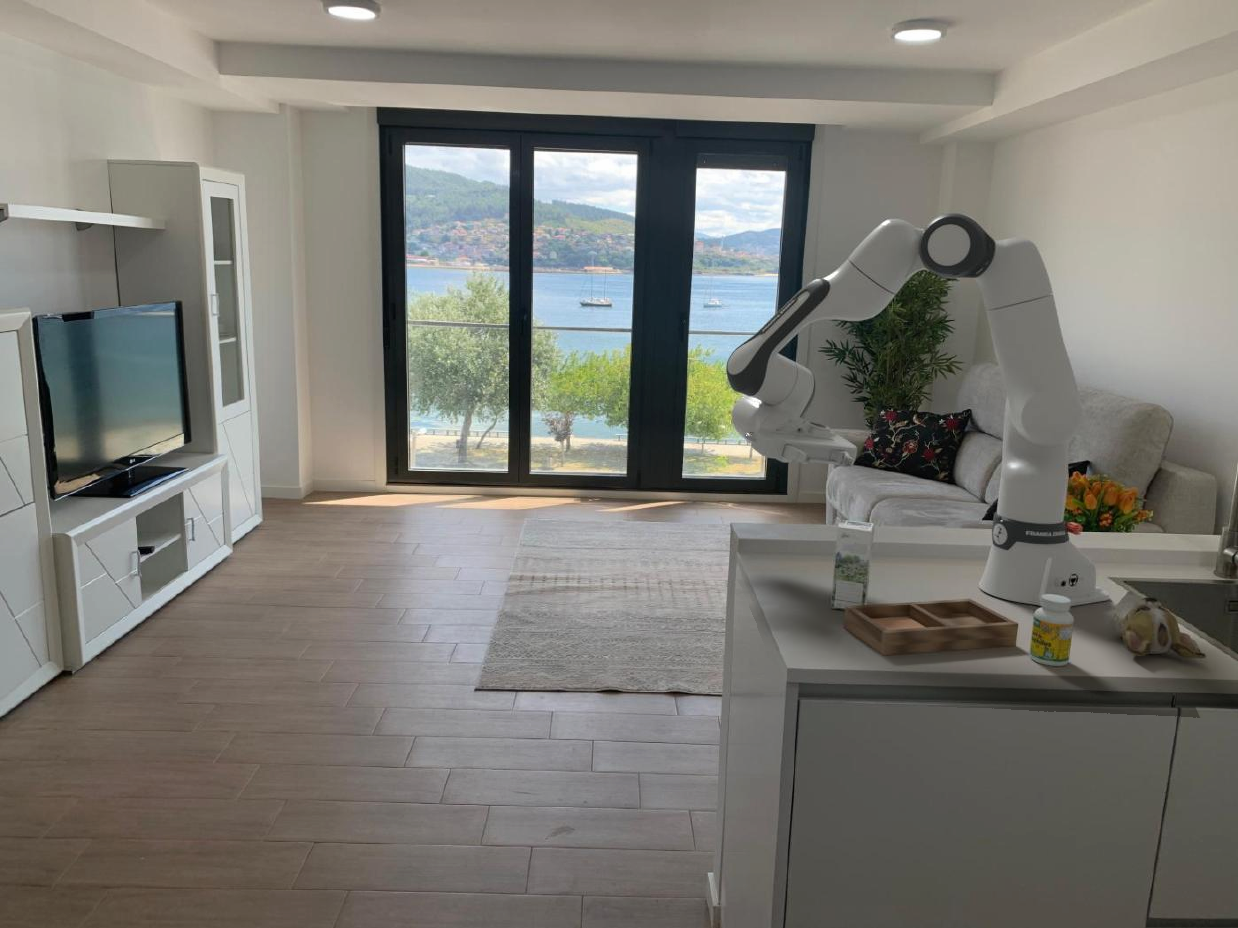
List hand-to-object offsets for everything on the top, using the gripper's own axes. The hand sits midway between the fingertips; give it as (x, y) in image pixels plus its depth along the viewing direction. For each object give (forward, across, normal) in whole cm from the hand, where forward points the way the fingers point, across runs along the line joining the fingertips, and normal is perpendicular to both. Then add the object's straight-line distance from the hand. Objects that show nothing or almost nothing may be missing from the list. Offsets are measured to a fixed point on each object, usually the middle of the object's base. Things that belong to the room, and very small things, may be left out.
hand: (828, 461), depth 168 cm
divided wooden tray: (+29, +5, +18) cm, 35 cm away
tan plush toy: (+44, +34, +13) cm, 57 cm away
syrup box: (+14, +1, +22) cm, 26 cm away
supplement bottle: (+43, +15, +16) cm, 48 cm away
